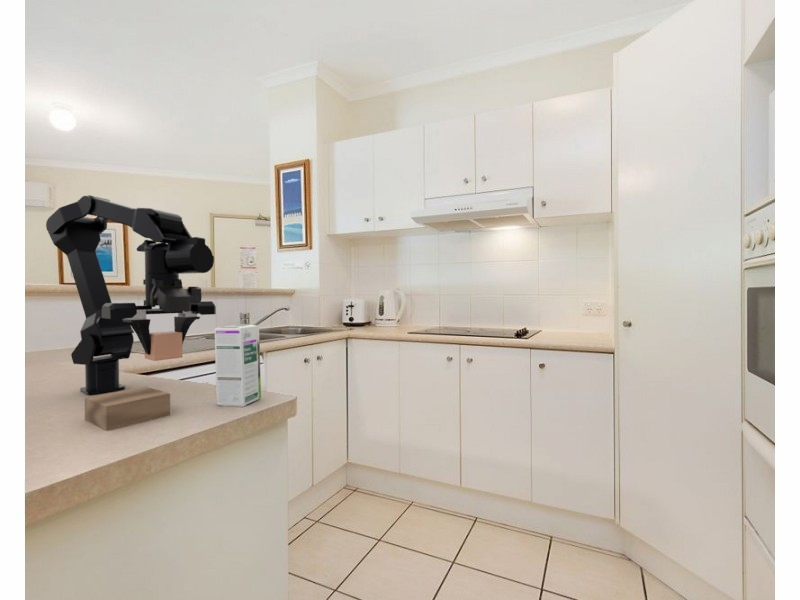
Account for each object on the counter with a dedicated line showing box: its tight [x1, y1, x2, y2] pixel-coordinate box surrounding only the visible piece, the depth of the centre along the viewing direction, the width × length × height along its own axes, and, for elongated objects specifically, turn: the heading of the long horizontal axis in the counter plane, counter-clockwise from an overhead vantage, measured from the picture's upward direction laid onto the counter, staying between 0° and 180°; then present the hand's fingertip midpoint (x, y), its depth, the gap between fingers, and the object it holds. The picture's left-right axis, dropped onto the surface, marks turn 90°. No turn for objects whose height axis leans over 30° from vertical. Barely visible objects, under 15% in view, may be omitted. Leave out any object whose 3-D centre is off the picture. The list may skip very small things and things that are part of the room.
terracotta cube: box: [144, 330, 183, 362], centre depth 77 cm, size 5×5×5 cm
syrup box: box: [214, 323, 262, 408], centre depth 73 cm, size 6×6×14 cm
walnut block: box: [84, 386, 171, 432], centre depth 64 cm, size 9×9×4 cm
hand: (163, 352), depth 77 cm, fingers closed on terracotta cube, 5 cm apart
